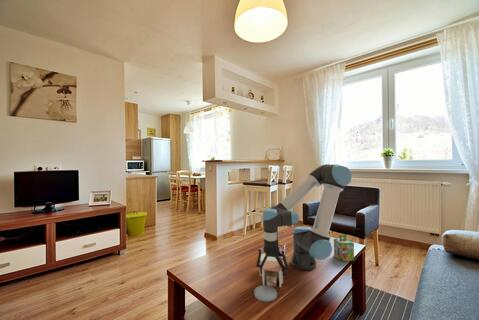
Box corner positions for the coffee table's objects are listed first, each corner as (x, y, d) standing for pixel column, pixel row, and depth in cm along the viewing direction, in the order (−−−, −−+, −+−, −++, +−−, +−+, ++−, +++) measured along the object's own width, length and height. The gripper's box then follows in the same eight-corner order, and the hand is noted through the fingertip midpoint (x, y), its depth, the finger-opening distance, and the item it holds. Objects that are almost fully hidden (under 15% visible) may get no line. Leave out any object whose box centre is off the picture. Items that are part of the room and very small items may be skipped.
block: (277, 281, 115) (276, 272, 115) (276, 286, 110) (276, 277, 110) (267, 280, 116) (267, 271, 116) (266, 285, 111) (266, 276, 111)
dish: (277, 289, 108) (277, 286, 108) (276, 303, 97) (275, 300, 97) (256, 286, 111) (256, 284, 111) (252, 299, 100) (252, 297, 100)
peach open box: (282, 277, 116) (281, 261, 116) (281, 287, 108) (280, 270, 108) (265, 275, 119) (264, 260, 119) (262, 285, 110) (262, 268, 110)
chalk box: (341, 262, 135) (340, 238, 135) (333, 255, 144) (332, 233, 144) (354, 261, 136) (354, 237, 136) (346, 254, 145) (345, 233, 145)
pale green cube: (277, 269, 127) (276, 255, 127) (275, 277, 118) (275, 262, 118) (262, 268, 130) (261, 253, 130) (259, 275, 121) (259, 260, 121)
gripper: (292, 237, 114) (294, 279, 114) (252, 235, 120) (253, 275, 120) (292, 242, 107) (294, 287, 107) (249, 240, 112) (251, 282, 112)
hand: (272, 280), depth 113 cm, fingers closed on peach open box, 9 cm apart
